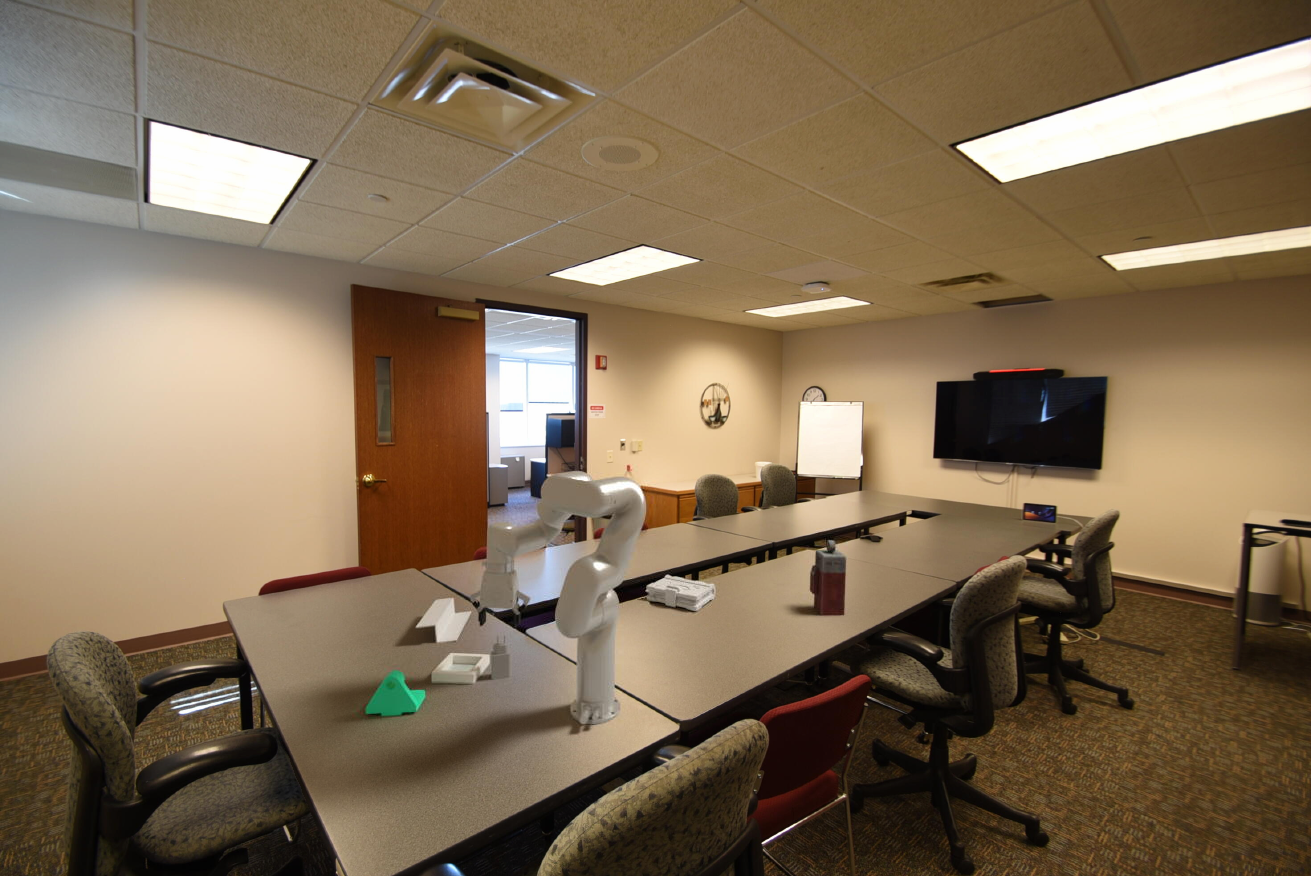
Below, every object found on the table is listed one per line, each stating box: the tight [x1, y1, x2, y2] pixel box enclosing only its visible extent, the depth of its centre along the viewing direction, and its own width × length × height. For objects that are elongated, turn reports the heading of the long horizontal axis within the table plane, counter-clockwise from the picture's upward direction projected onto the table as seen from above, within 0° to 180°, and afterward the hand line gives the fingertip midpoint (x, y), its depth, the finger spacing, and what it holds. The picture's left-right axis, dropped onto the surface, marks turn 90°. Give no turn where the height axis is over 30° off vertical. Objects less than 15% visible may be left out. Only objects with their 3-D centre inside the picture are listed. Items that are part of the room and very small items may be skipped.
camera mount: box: [365, 669, 426, 717], centre depth 136 cm, size 12×8×10 cm, turn 96°
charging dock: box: [431, 652, 491, 685], centre depth 154 cm, size 12×12×3 cm
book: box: [645, 574, 716, 612], centre depth 219 cm, size 19×28×8 cm
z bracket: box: [415, 597, 472, 644], centre depth 186 cm, size 12×25×6 cm, turn 8°
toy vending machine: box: [809, 539, 847, 617], centre depth 205 cm, size 9×11×28 cm
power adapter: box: [490, 635, 512, 680], centre depth 152 cm, size 3×5×12 cm, turn 107°
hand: (499, 625), depth 152 cm, fingers open, 9 cm apart
